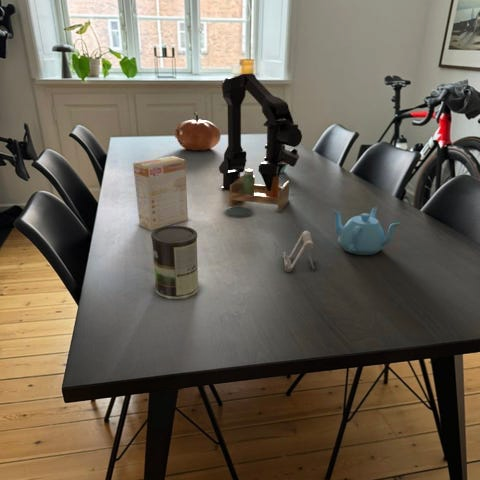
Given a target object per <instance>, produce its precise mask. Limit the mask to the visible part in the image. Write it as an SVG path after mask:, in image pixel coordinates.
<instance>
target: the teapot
mask: <svg viewBox="0 0 480 480" xmlns="http://www.w3.org/2000/svg"><path fill="white" fill-rule="evenodd" d="M331 210H332V212H333V213H334V215H335V226H334V230H335V233H336V235H337V236H338V244H339V245H340V247H341V248H342V249H343V250H344V251H346V253H347V252H348V253H349V254H354V255H358V256H372V255H375V254H377V253H379V252H380V251H381V250H382V249H383V248H384V247H385V246H386V245H387V246H388V244H389V243H390V242H391V241H392V239H393V235H394V231H395V228H396V227H397V226H398V225H400V224H401V223H402V221H401V222H399V221H398V222H397V221H396V222H393V223H391V224H389V227H388V229H387V232H386V234H385V231H384V229H383V226H382V224H381V222H380V220H378V219H377V212H378V206H373V207H372V209H371V212H370V214H369V213H361V214H360V215H354V216H352V217H350V219H349V220H348V221H347V222H346V223H345V224H344V225H343V224H342V215H341V213H340V212H339V211H338V210H336V209H334V208H332V209H331Z"/></svg>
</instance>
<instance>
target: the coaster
mask: <svg viewBox="0 0 480 480" xmlns="http://www.w3.org/2000/svg"><path fill="white" fill-rule="evenodd" d="M252 213H253V211H252V210H251V208H248V207H245V206H230V207H228V208H226V209H225V214H226V216H229V217H232V218H247V217H249V216H252Z"/></svg>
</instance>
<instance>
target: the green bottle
mask: <svg viewBox="0 0 480 480" xmlns="http://www.w3.org/2000/svg"><path fill="white" fill-rule="evenodd" d="M242 176H243V178H242V193H243V194H254V184H256V181H255V180H256V176H255V175H254V169H251V168H247V169H245V168H244V173H243V175H242Z"/></svg>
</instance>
